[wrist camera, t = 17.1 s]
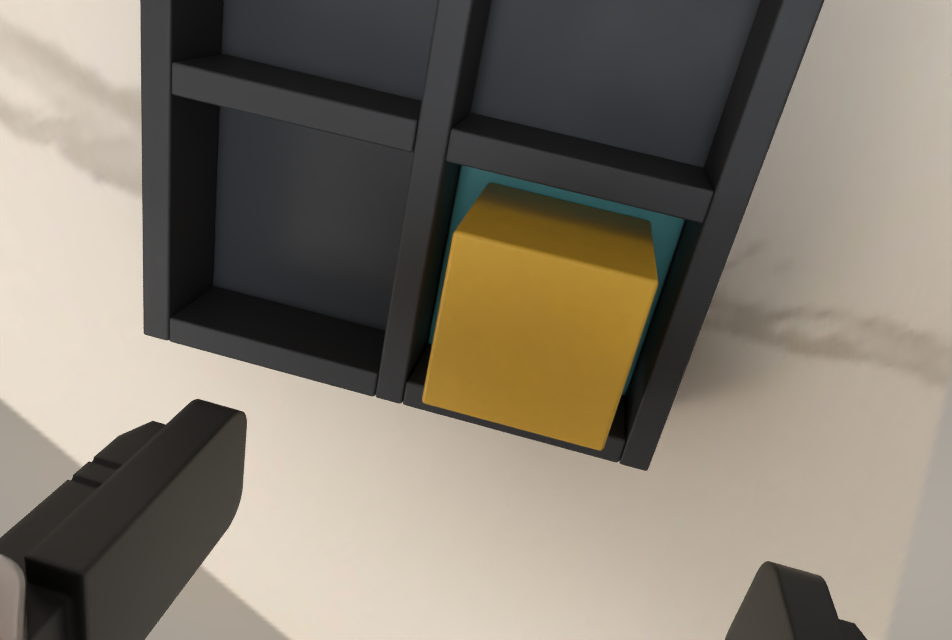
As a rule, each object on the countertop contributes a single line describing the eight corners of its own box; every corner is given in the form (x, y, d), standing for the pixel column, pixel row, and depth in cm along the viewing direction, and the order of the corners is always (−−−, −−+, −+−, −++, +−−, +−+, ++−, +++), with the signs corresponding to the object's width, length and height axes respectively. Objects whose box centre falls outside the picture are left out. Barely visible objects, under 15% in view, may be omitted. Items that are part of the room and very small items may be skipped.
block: (651, 220, 19) (660, 281, 15) (606, 365, 21) (602, 453, 17) (487, 180, 20) (453, 230, 16) (457, 326, 22) (420, 404, 17)
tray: (842, -139, 16) (887, -165, 13) (644, 414, 22) (647, 472, 20) (212, -265, 17) (136, -313, 14) (197, 295, 24) (142, 334, 21)
